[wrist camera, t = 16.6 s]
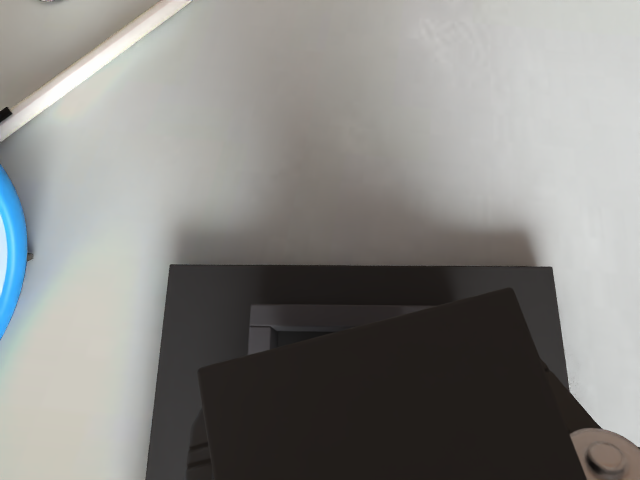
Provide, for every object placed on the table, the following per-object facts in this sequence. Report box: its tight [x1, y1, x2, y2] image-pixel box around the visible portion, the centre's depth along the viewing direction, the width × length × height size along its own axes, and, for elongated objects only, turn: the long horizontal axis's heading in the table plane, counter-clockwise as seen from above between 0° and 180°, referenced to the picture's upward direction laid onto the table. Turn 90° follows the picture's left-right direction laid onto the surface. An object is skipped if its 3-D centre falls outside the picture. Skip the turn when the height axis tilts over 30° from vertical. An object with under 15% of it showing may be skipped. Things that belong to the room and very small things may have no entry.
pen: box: [0, 0, 193, 142], centre depth 22 cm, size 1×19×1 cm, turn 133°
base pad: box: [146, 264, 570, 480], centre depth 16 cm, size 16×12×3 cm
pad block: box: [197, 287, 587, 480], centre depth 10 cm, size 5×5×9 cm
